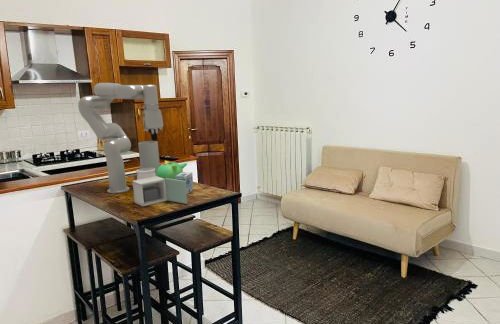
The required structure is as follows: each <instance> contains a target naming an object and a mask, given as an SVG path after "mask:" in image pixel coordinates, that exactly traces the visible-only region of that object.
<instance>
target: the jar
mask: <svg viewBox="0 0 500 324" xmlns="http://www.w3.org/2000/svg"><path fill="white" fill-rule="evenodd" d="M154 171H155V168H141V167H140V168H138V169H136V173H137V175H136V180H139V179H145V178H150V177H155V176H156V175H155V172H154Z"/></svg>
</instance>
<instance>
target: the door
mask: <svg viewBox="0 0 500 324" xmlns="http://www.w3.org/2000/svg"><path fill="white" fill-rule="evenodd" d="M186 188H187V185H186V181H183V180H176V179H169V178H166V195H167V201H169V202H176V203H180V204H186V205H187V204H188V194H187V189H186Z"/></svg>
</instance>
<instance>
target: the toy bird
mask: <svg viewBox="0 0 500 324" xmlns="http://www.w3.org/2000/svg"><path fill="white" fill-rule="evenodd" d="M187 165H188V162H183V163H181V164H179V163H177V162H174V161H169V160H164V162H163V163H162V164H160V166H159V168H158V169H157V172H156V176H158V177H161V178H164V179H165V184H166V178H169V179H176V178H175V176H177V175H178V174H180V173H181V172H184V170H183V169H184V168H185V167H186V166H187Z"/></svg>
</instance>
